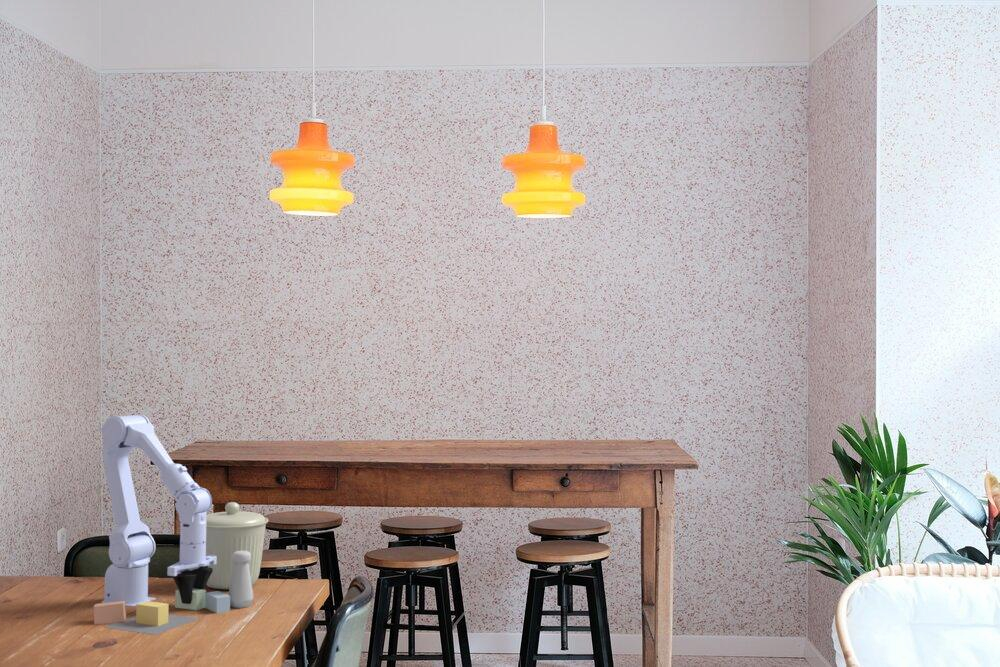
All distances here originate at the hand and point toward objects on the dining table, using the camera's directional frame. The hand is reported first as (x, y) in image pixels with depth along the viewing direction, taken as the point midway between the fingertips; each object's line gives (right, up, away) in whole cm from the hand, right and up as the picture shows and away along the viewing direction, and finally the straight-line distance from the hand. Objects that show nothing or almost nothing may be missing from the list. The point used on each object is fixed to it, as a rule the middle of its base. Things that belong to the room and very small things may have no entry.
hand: (192, 601), depth 229 cm
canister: (+3, -3, +24) cm, 24 cm away
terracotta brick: (-14, -1, -13) cm, 19 cm away
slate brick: (+6, -2, -2) cm, 7 cm away
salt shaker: (+11, -2, +2) cm, 11 cm away
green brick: (0, -1, 0) cm, 1 cm away
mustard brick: (-4, -1, -13) cm, 14 cm away
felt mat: (-4, -2, -13) cm, 14 cm away
